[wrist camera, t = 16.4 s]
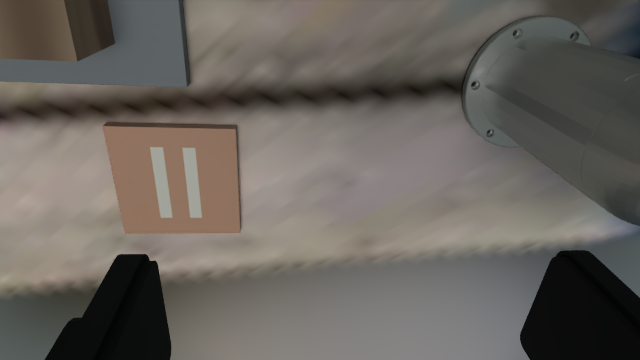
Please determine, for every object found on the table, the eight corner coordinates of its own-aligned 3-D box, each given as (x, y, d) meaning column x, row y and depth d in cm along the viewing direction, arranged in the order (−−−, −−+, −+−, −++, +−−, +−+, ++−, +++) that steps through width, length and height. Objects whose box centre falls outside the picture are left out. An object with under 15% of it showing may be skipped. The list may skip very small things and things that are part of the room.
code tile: (236, 125, 39) (235, 129, 38) (241, 227, 44) (240, 233, 44) (106, 122, 38) (102, 126, 37) (128, 227, 43) (124, 233, 42)
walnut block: (103, -25, 31) (59, -22, 25) (115, 43, 33) (77, 61, 27) (33, -29, 30) (-30, -27, 24) (50, 40, 33) (-3, 58, 26)
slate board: (175, -72, 31) (171, -74, 30) (190, 82, 37) (187, 87, 35) (-50, -88, 29) (-66, -91, 28) (1, 76, 35) (-10, 81, 34)
